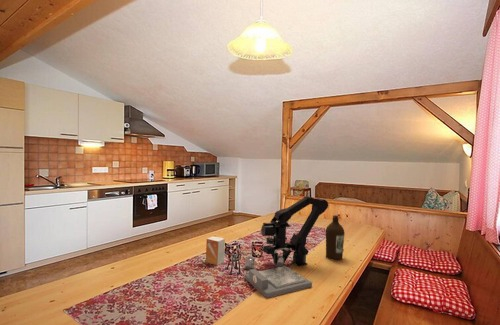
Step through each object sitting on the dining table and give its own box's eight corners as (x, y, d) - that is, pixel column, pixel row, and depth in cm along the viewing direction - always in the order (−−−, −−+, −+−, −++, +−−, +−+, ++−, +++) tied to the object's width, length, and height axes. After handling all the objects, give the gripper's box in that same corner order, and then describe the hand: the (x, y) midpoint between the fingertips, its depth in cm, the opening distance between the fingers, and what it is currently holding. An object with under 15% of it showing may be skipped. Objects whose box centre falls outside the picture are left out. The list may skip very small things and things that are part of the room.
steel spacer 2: (280, 263, 149) (280, 254, 148) (285, 266, 144) (286, 257, 144) (272, 264, 146) (273, 255, 146) (278, 268, 142) (278, 258, 142)
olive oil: (321, 256, 162) (322, 214, 161) (332, 253, 167) (334, 213, 167) (335, 262, 153) (337, 218, 152) (347, 258, 158) (349, 216, 158)
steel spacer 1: (251, 265, 145) (251, 255, 144) (256, 268, 140) (256, 259, 140) (243, 266, 142) (243, 257, 142) (247, 270, 138) (248, 260, 138)
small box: (205, 262, 146) (206, 238, 146) (212, 258, 152) (213, 235, 152) (217, 265, 142) (218, 241, 142) (224, 262, 148) (225, 238, 148)
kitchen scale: (285, 269, 140) (286, 259, 140) (311, 286, 122) (312, 274, 122) (244, 278, 128) (244, 266, 128) (265, 298, 111) (266, 285, 111)
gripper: (285, 229, 156) (284, 256, 157) (258, 232, 148) (257, 261, 148) (297, 234, 147) (296, 263, 147) (268, 238, 138) (267, 268, 138)
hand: (279, 263), depth 145 cm, fingers closed on steel spacer 2, 5 cm apart
